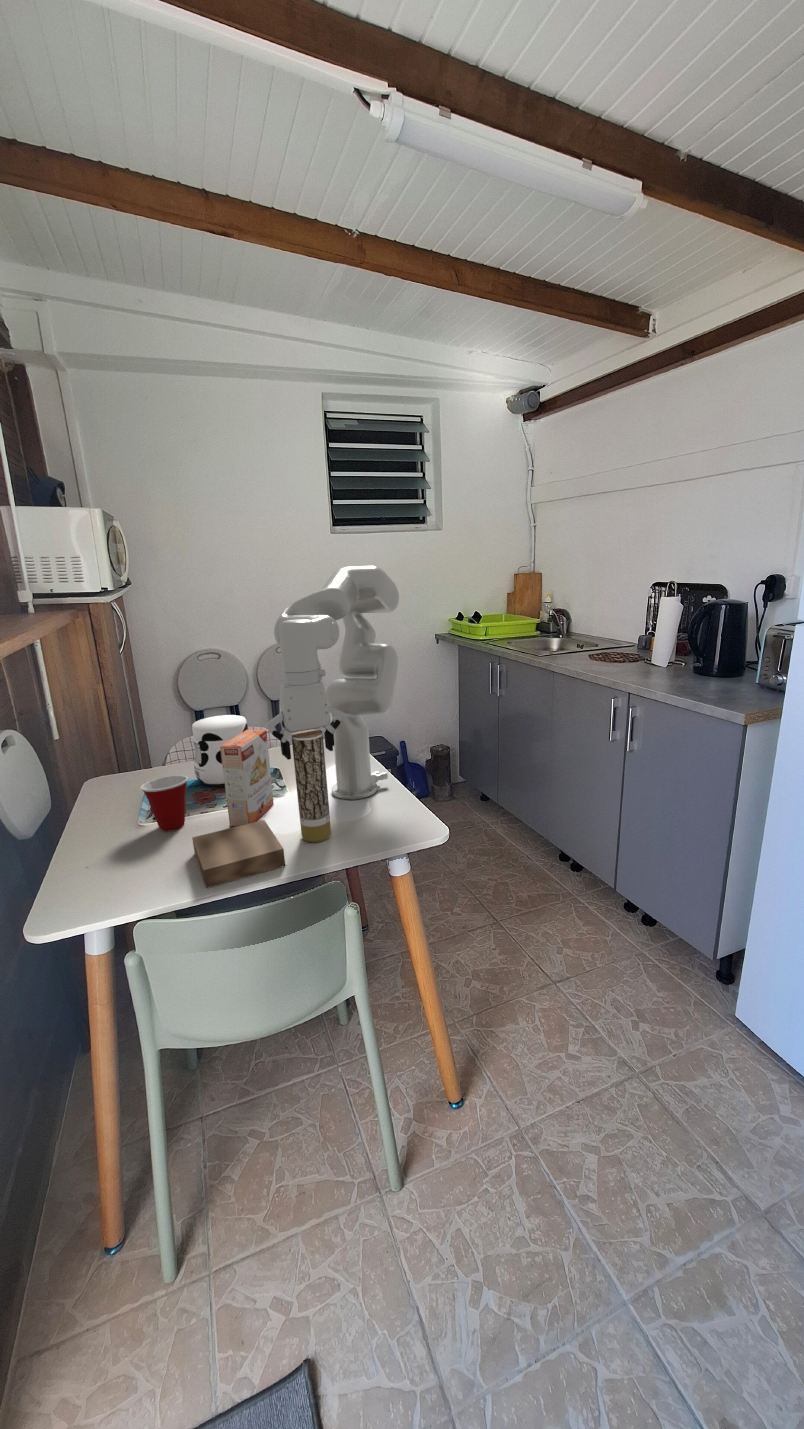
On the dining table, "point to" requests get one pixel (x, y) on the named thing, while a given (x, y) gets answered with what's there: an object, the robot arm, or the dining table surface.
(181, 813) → the plastic cup
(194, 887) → the dining table surface
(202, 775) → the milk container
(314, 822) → the paper tube
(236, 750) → the cracker box
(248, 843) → the walnut base
